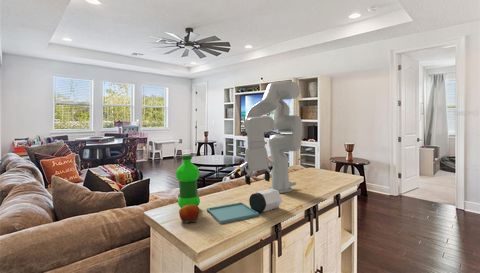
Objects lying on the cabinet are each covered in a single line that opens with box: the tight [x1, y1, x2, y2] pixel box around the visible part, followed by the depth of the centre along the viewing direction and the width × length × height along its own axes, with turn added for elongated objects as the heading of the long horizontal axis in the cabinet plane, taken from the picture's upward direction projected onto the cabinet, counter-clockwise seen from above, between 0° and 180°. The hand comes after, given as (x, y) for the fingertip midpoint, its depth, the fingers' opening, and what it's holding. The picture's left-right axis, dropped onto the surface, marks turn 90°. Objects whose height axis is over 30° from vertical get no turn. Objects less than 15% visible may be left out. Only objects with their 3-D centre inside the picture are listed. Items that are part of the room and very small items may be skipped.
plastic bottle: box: [175, 154, 201, 209], centre depth 117 cm, size 10×10×25 cm
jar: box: [248, 188, 283, 213], centre depth 114 cm, size 9×8×12 cm
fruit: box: [178, 204, 201, 225], centre depth 104 cm, size 8×8×8 cm
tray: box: [206, 202, 260, 225], centre depth 111 cm, size 17×17×1 cm
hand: (257, 182), depth 117 cm, fingers open, 9 cm apart
